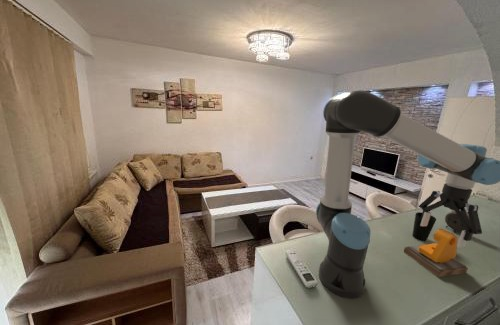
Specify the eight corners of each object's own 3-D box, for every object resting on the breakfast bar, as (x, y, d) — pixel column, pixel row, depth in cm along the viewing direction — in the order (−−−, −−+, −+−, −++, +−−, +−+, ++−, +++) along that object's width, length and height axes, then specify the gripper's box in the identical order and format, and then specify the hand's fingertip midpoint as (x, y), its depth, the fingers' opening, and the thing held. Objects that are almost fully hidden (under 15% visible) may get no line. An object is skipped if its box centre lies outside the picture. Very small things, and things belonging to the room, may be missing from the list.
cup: (406, 234, 103) (412, 213, 100) (415, 232, 105) (421, 211, 102) (423, 244, 96) (430, 221, 93) (433, 241, 98) (440, 219, 95)
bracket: (434, 248, 88) (442, 223, 85) (454, 259, 82) (463, 233, 78) (416, 251, 85) (423, 226, 82) (435, 264, 79) (444, 237, 75)
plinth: (437, 276, 76) (439, 270, 75) (403, 251, 89) (405, 245, 89) (466, 273, 79) (468, 266, 78) (429, 249, 92) (431, 243, 91)
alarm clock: (472, 236, 104) (482, 207, 100) (468, 239, 101) (479, 209, 97) (444, 225, 113) (453, 199, 109) (440, 227, 111) (449, 200, 107)
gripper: (512, 200, 65) (487, 256, 70) (431, 175, 88) (417, 218, 94) (495, 200, 63) (471, 258, 68) (417, 174, 87) (404, 219, 92)
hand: (440, 235), depth 81 cm, fingers open, 13 cm apart
